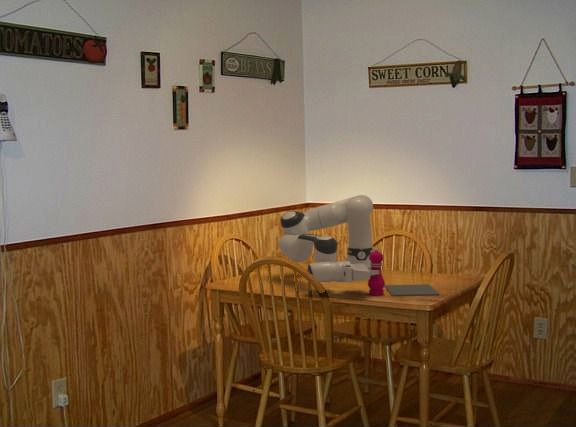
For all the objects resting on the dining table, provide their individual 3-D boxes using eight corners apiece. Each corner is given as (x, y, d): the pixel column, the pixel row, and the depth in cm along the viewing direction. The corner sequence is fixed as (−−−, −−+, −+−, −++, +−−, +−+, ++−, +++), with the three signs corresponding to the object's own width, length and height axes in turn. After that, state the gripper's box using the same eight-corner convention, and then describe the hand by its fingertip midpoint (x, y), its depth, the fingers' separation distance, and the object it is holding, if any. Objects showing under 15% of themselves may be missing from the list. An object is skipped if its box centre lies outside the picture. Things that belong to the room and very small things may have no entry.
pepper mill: (370, 296, 333) (370, 249, 331) (365, 293, 340) (365, 247, 338) (387, 295, 334) (387, 248, 332) (381, 292, 341) (381, 246, 339)
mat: (384, 286, 354) (384, 285, 354) (429, 285, 354) (429, 284, 354) (392, 296, 332) (392, 294, 332) (439, 295, 332) (439, 293, 332)
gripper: (343, 274, 346) (375, 274, 347) (348, 283, 326) (381, 282, 326) (343, 260, 346) (375, 259, 346) (348, 268, 325) (381, 267, 326)
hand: (378, 270), depth 336 cm, fingers closed on pepper mill, 4 cm apart
